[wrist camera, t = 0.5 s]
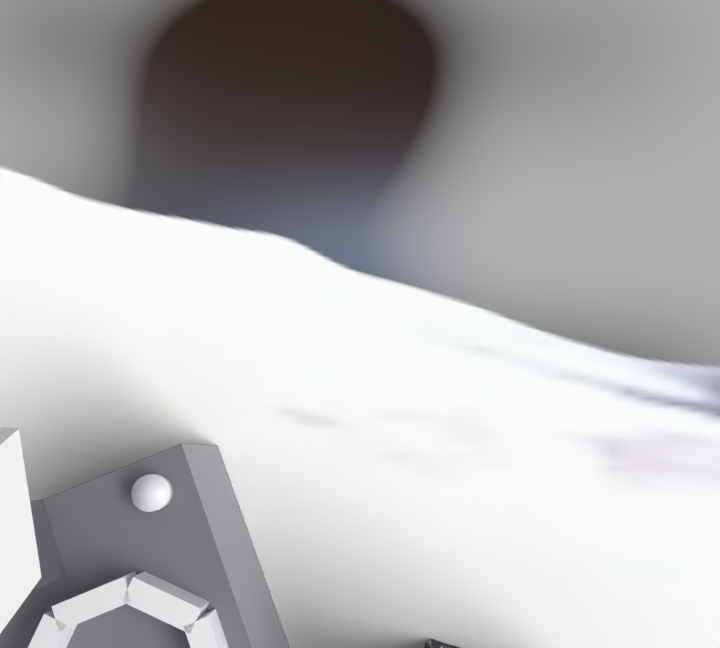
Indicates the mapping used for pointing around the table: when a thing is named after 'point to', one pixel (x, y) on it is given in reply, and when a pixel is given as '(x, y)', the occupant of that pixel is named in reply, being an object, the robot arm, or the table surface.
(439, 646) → the small box
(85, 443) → the table surface
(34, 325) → the table surface
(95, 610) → the camera body
